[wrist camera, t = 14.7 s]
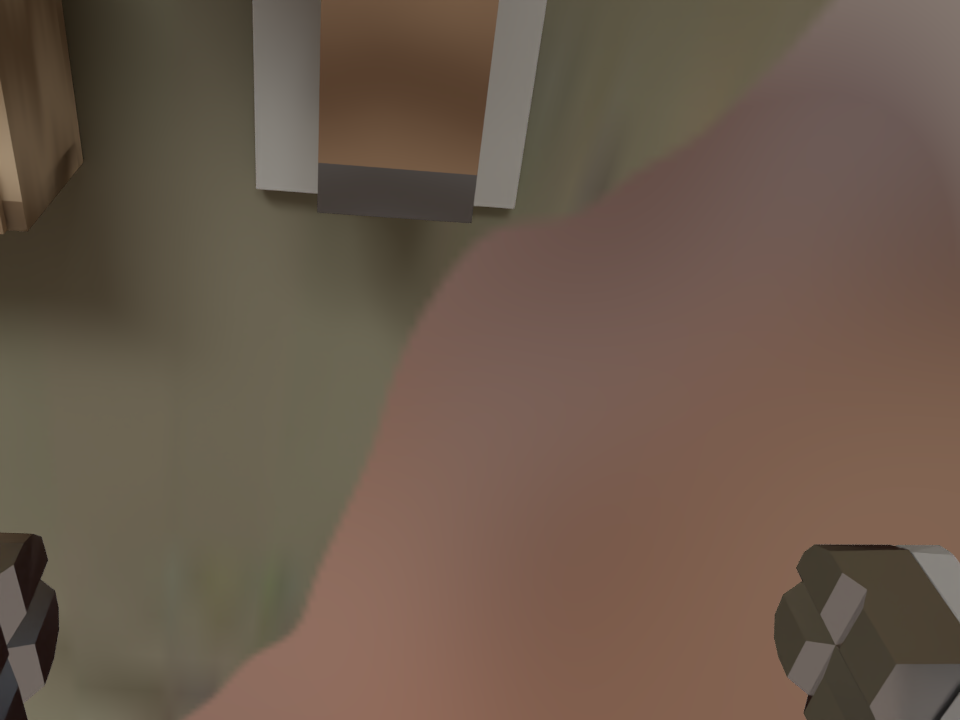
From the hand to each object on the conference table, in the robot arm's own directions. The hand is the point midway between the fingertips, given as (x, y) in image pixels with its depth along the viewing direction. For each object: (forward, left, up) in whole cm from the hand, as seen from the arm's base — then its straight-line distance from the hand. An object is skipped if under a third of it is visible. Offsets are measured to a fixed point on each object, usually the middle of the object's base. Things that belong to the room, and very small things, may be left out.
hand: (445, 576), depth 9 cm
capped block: (0, 0, -25) cm, 25 cm away
